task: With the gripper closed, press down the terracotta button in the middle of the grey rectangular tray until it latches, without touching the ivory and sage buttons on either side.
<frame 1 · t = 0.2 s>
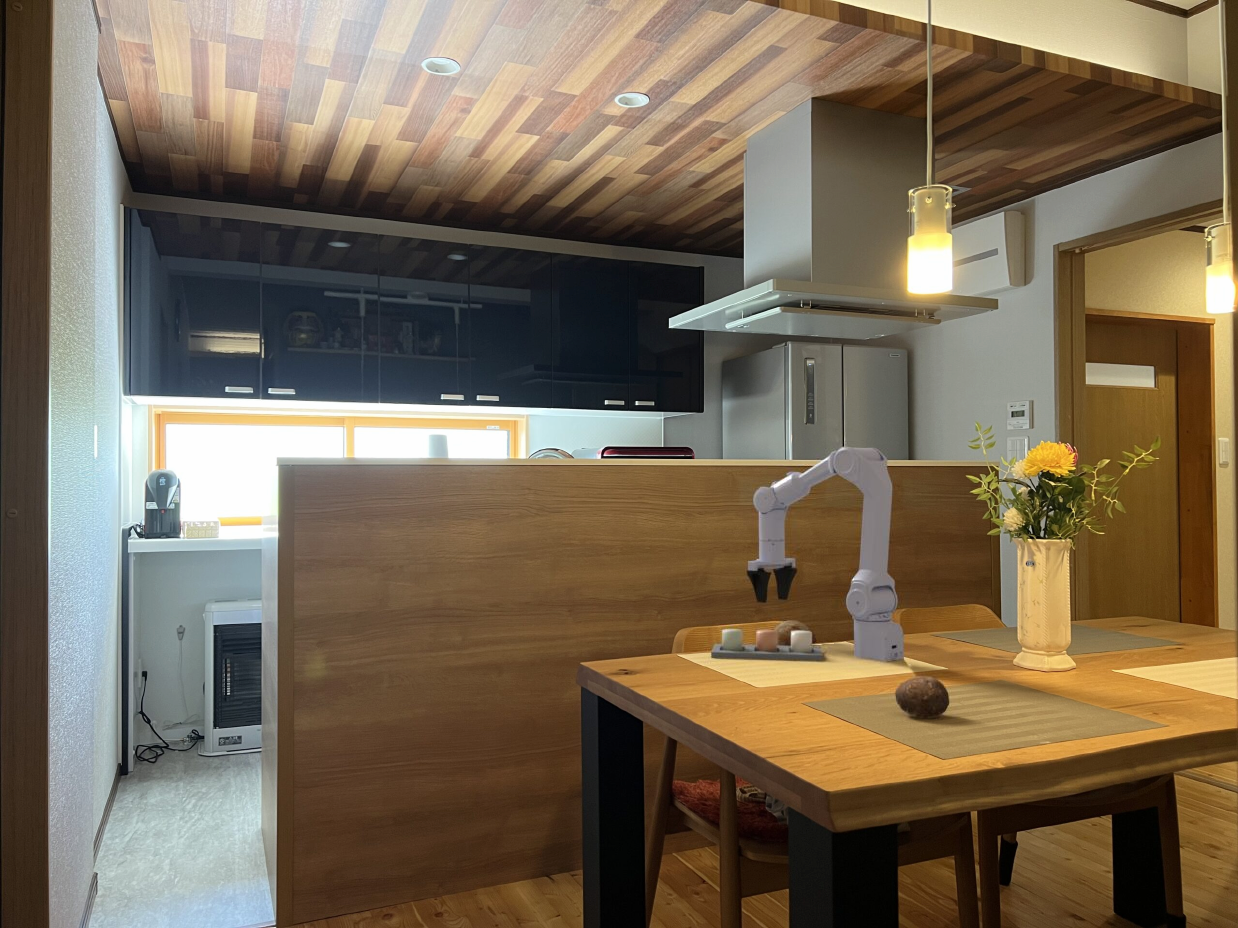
hand: (772, 600, 212), 10 cm above the table, fingers open, 7 cm apart
brown rough oval lump: (922, 716, 148), on the table
button sage: (732, 642, 194), point 4 cm above the table, slide at 0.0 cm
bread roll: (793, 649, 209), on the table
button ivory: (801, 643, 191), point 4 cm above the table, slide at 0.0 cm
button terracotta: (766, 642, 192), point 4 cm above the table, slide at 0.0 cm
grey rectangular tray: (766, 661, 192), on the table
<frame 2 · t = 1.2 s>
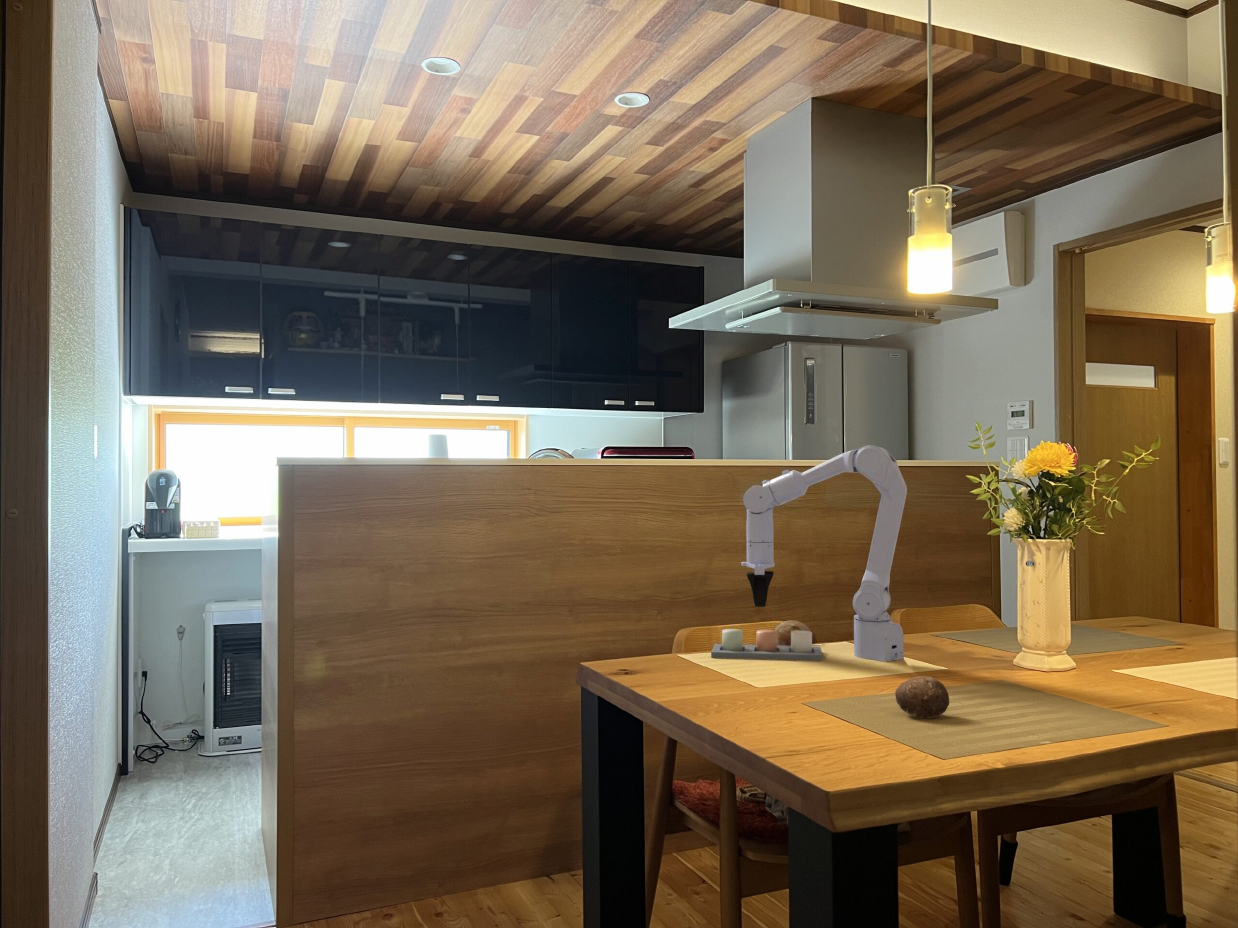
hand: (760, 605, 201), 10 cm above the table, fingers closed
nothing on the table moved.
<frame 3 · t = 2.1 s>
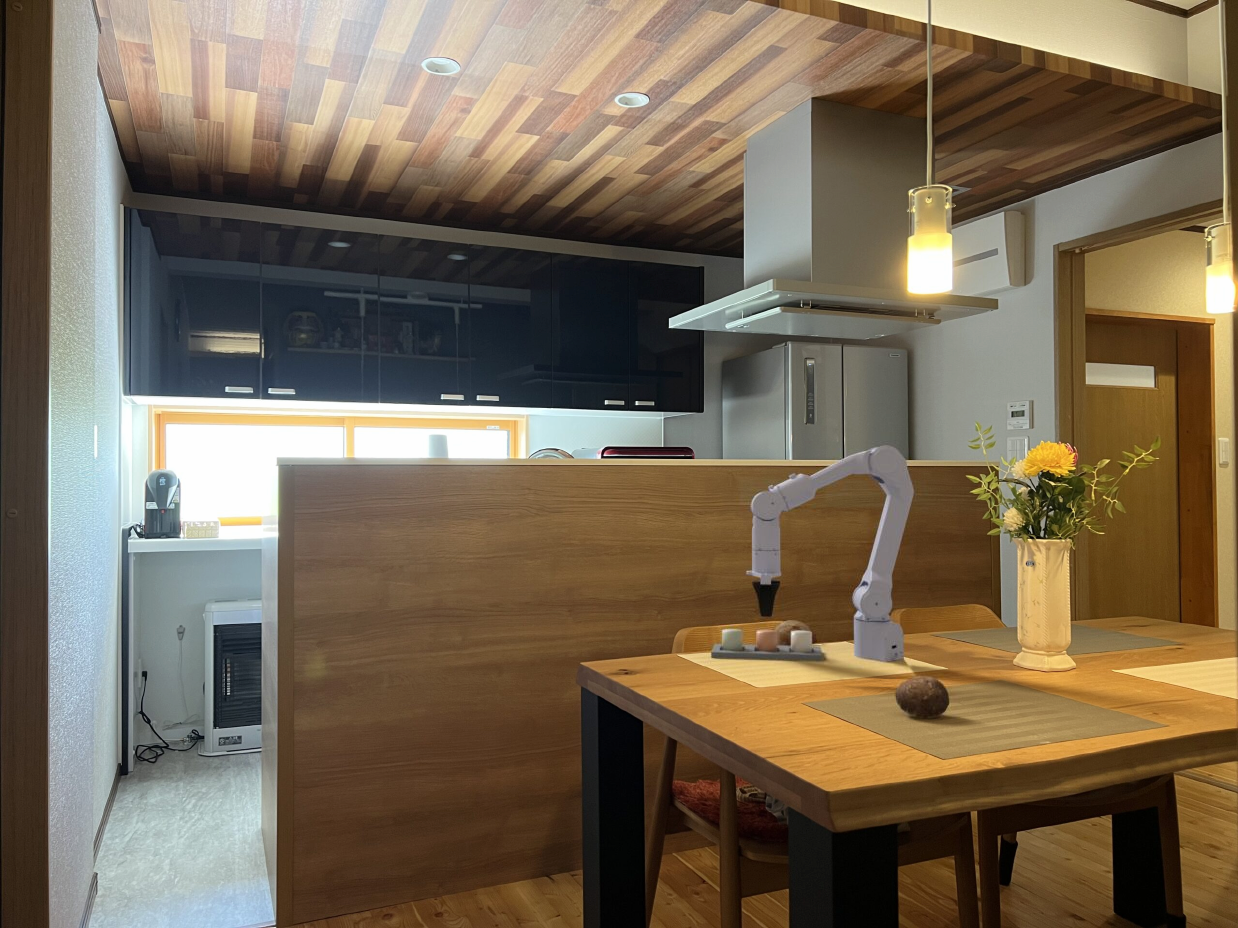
hand: (766, 616, 193), 9 cm above the table, fingers closed
nothing on the table moved.
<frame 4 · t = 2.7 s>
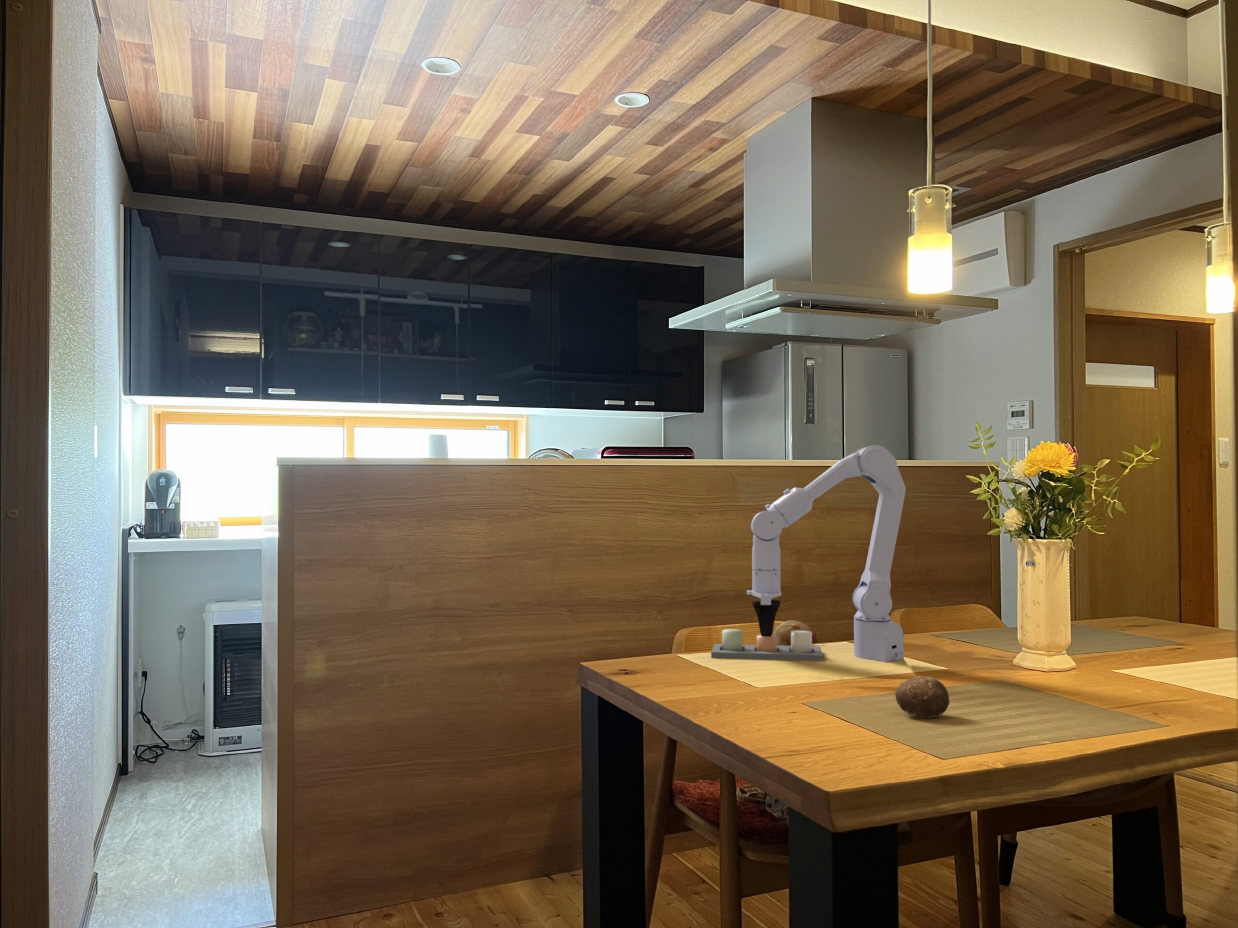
hand: (766, 636, 193), 5 cm above the table, fingers closed, pressing on button terracotta
button terracotta: (766, 647, 192), point 3 cm above the table, slide at 0.9 cm, touching gripper
everything else where it was.
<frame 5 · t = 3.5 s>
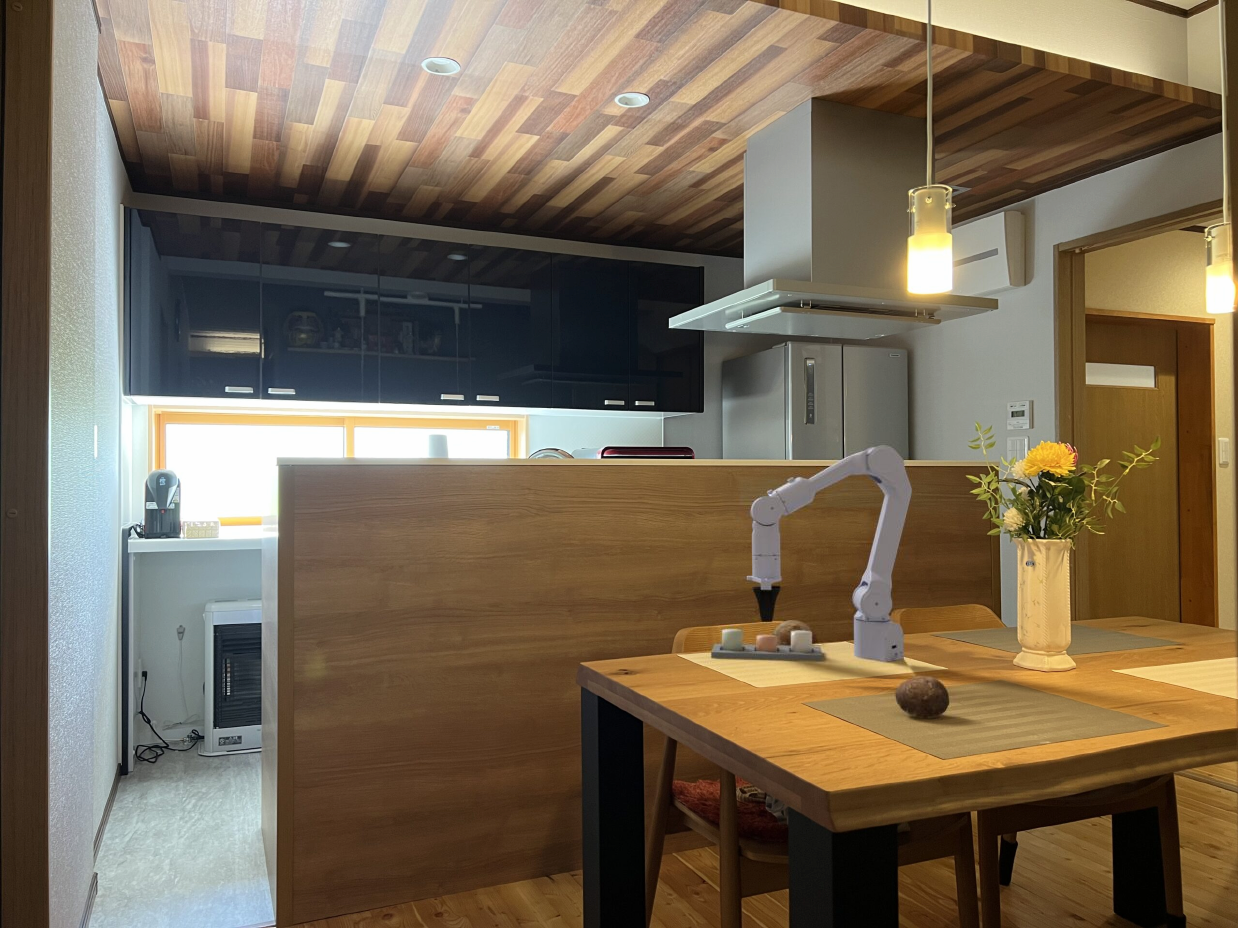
hand: (766, 621, 193), 8 cm above the table, fingers closed
button terracotta: (766, 647, 192), point 3 cm above the table, slide at 1.0 cm
everything else where it was.
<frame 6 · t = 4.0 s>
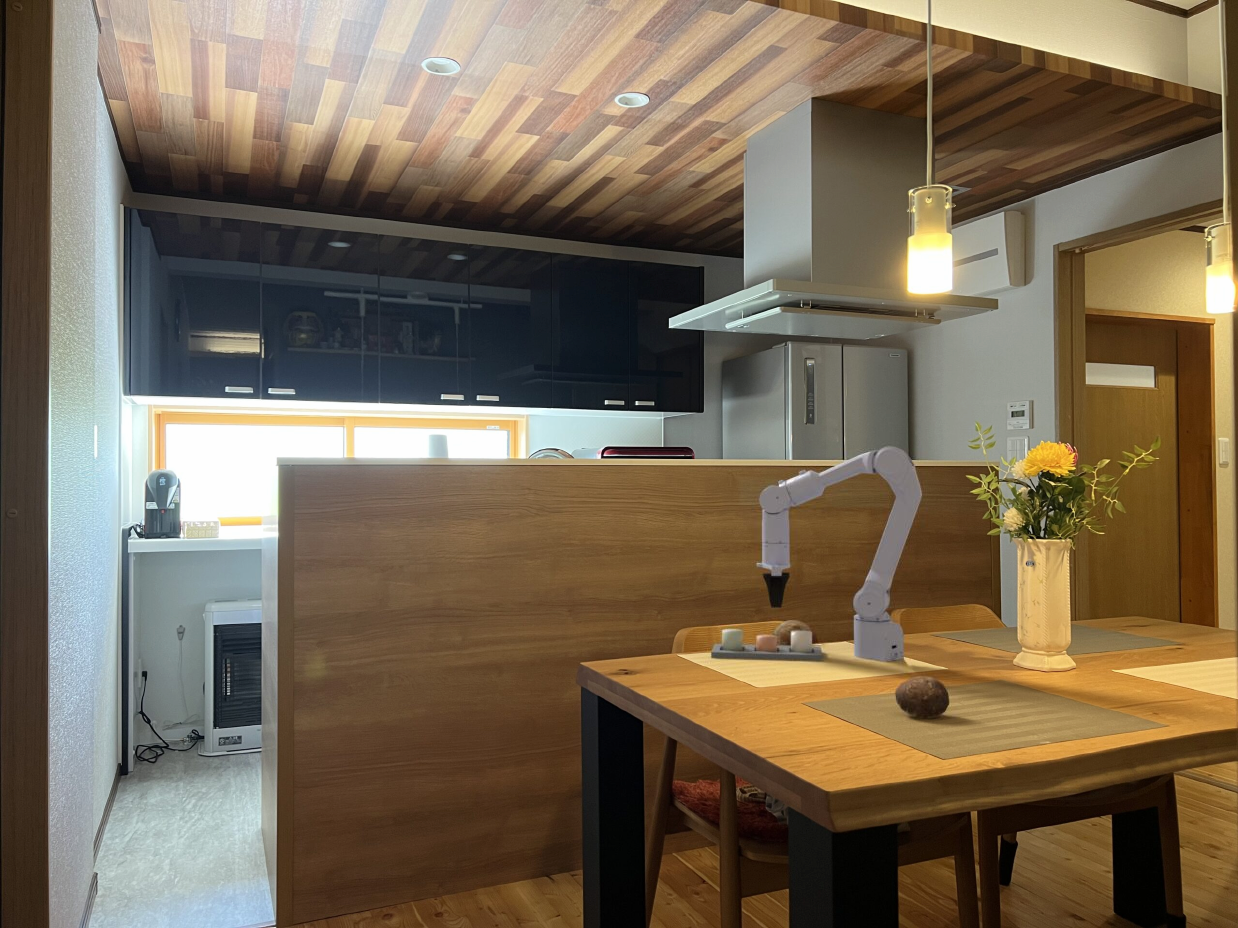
hand: (776, 607, 198), 10 cm above the table, fingers closed
nothing on the table moved.
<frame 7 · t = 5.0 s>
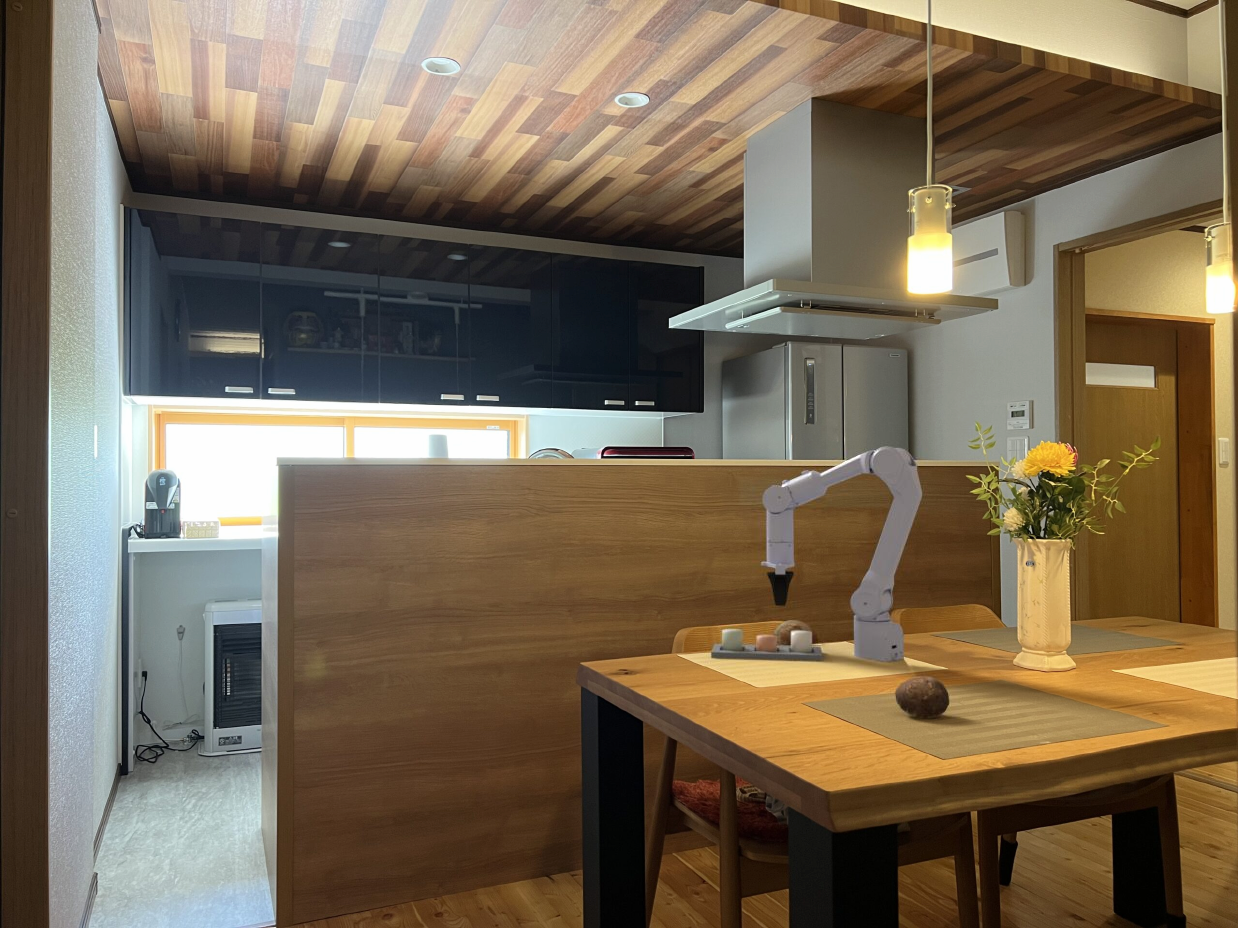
hand: (780, 605, 201), 10 cm above the table, fingers closed
nothing on the table moved.
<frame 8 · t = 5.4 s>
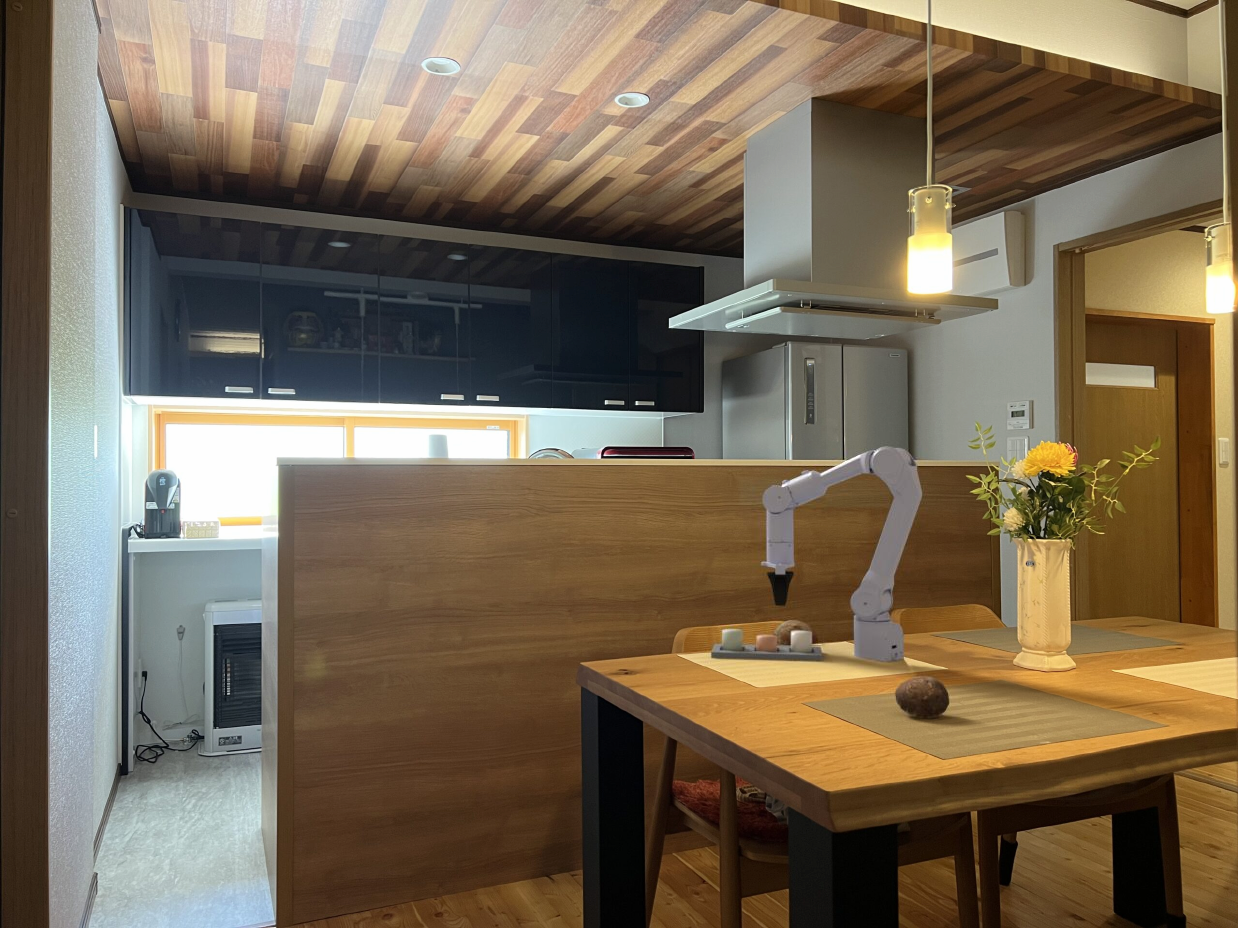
hand: (780, 605, 201), 10 cm above the table, fingers closed
nothing on the table moved.
at the end: button terracotta slide at 1.0 cm; button ivory slide at 0.0 cm; button sage slide at 0.0 cm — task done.
